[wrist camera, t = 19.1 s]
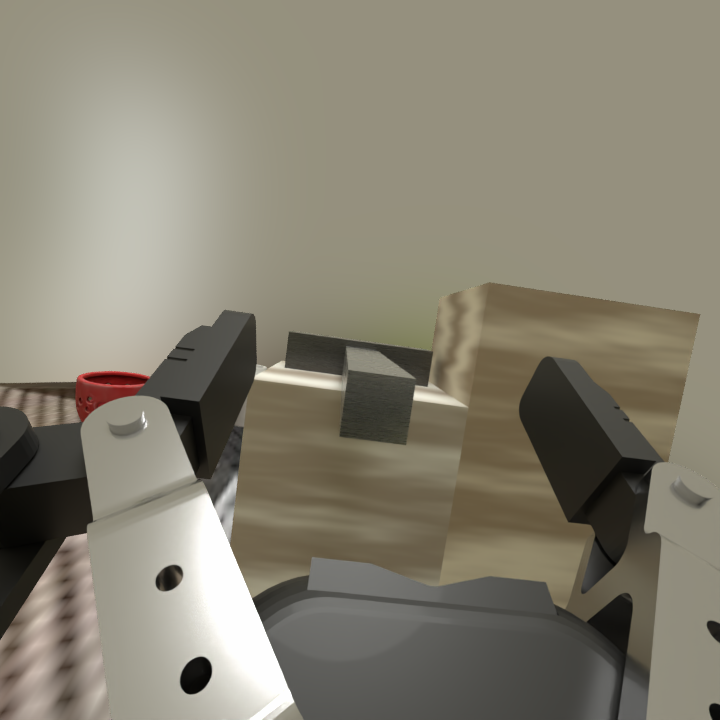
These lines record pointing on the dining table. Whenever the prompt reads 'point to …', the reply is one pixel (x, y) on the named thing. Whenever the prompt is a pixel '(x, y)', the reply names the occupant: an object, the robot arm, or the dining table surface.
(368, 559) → the step stand
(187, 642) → the robot arm
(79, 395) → the plant pot
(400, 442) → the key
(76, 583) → the dining table surface
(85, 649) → the dining table surface
